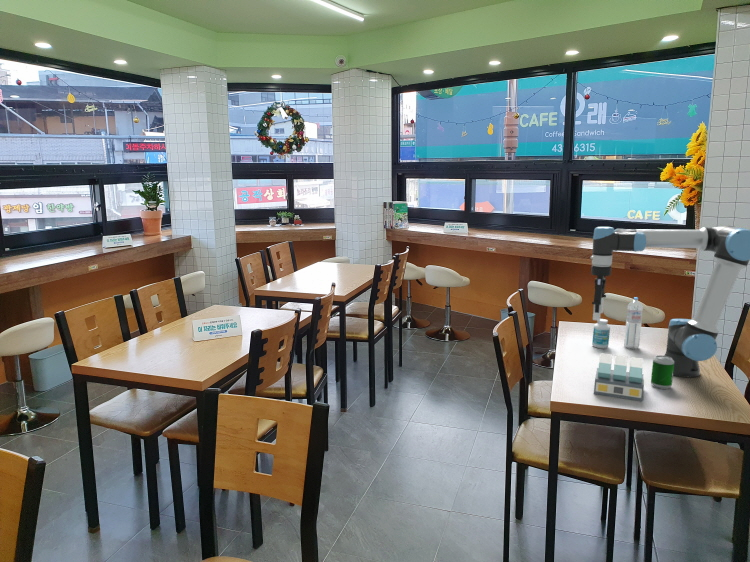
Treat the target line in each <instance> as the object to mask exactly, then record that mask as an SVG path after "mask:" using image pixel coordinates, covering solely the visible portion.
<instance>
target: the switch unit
mask: <svg viewBox="0 0 750 562" xmlns="http://www.w3.org/2000/svg"><path fill="white" fill-rule="evenodd" d="M598 368H599V367H597V368H596V371H595V372H596V373H595V377H594V387H593V394H594V395H599V396H605V397H606V396H607V397H613V398H619V399H625V400H626V399H627V400H632V401H637V402H638V401H640V402H643V400H644V399H643V397H644V389H645V387H644V386H645V381H644V380H645V379H644V374H643V373H642V383H637V382H629V371H626V381H622V380H615V379H613V374H614V369H611V373H610V379H608V378H601V377H598Z"/></svg>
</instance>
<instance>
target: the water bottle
mask: <svg viewBox="0 0 750 562" xmlns="http://www.w3.org/2000/svg"><path fill="white" fill-rule="evenodd" d="M643 309H644V306H643V304H642V303H641V302H640V301H639V297H637V296H636V297H635V296H634V297H633V300H632V301H630V302H629V303H628V304H627V311H626V321H625V330H624V343H623V345H624V346H623V347H624V348H626V349H628V348H630V349H629V350H638V349H639V348H640V341H641V332H642V318H643Z"/></svg>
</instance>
